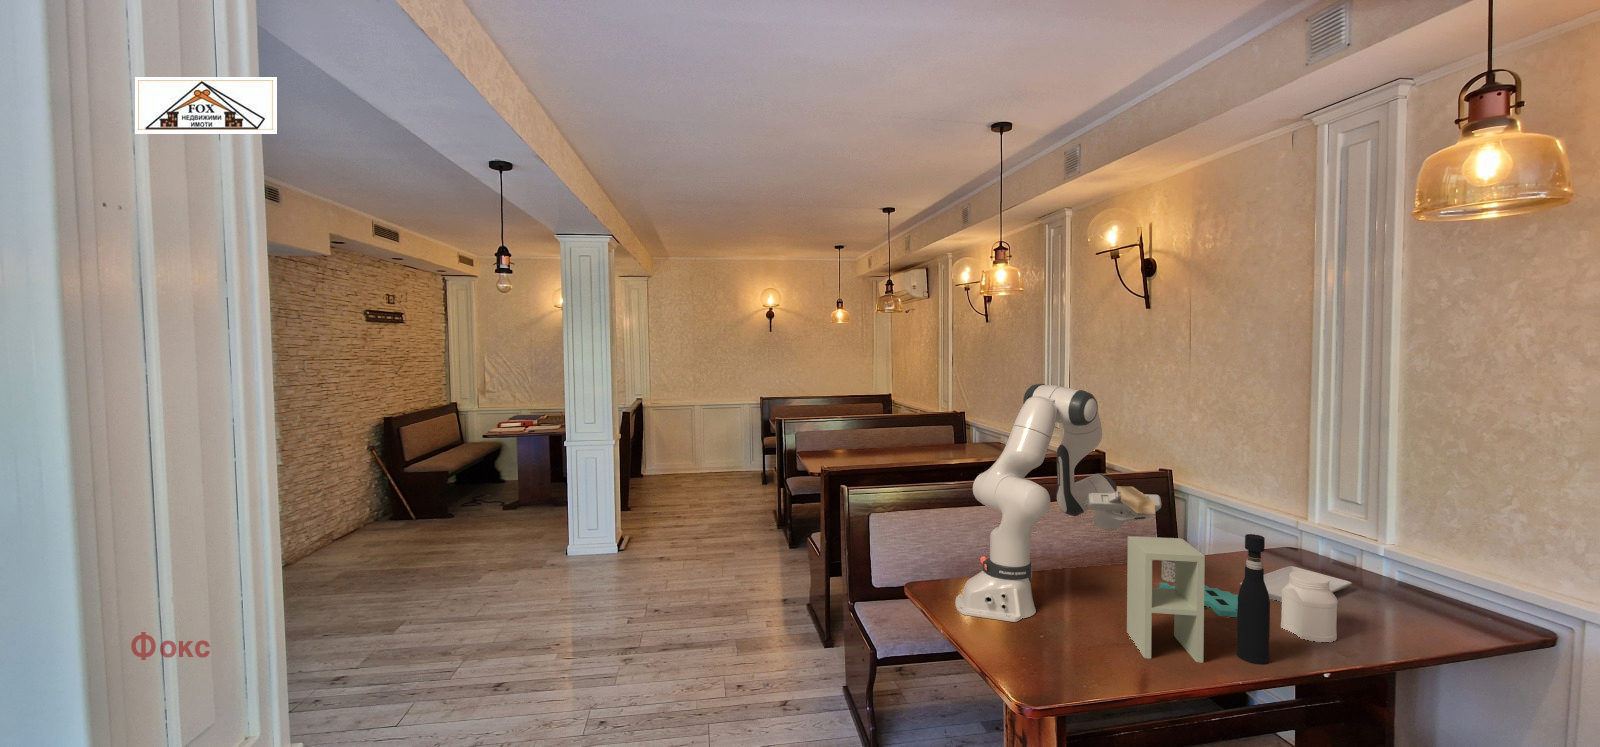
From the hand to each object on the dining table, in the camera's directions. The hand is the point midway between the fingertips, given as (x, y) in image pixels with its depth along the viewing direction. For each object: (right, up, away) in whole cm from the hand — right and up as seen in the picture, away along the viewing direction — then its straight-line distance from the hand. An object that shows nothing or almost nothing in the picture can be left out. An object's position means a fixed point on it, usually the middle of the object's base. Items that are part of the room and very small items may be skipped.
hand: (1129, 494), depth 187 cm
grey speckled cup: (+25, -32, +21) cm, 45 cm away
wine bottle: (+13, -34, -32) cm, 49 cm away
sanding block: (-1, -3, -5) cm, 5 cm away
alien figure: (+24, -33, +1) cm, 40 cm away
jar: (+37, -33, -19) cm, 53 cm away
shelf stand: (-5, -34, -26) cm, 43 cm away
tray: (+55, -32, +8) cm, 64 cm away
